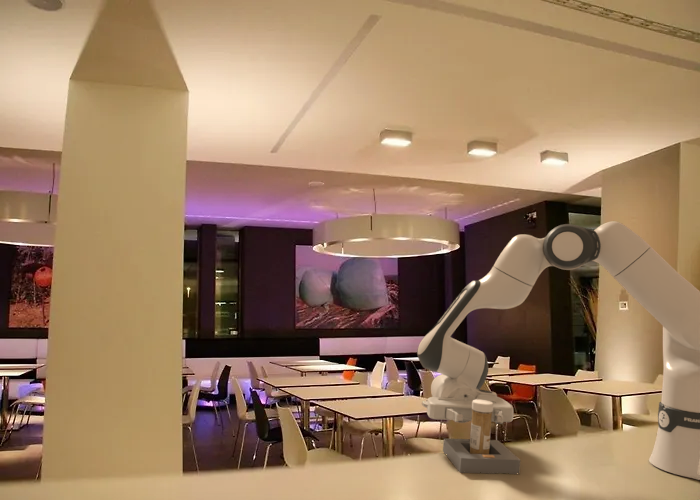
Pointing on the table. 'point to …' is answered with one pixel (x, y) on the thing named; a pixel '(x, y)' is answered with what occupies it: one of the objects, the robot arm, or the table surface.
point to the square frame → (481, 457)
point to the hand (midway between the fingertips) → (480, 419)
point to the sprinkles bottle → (480, 426)
